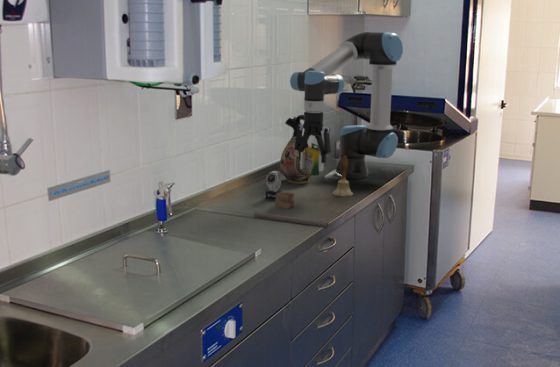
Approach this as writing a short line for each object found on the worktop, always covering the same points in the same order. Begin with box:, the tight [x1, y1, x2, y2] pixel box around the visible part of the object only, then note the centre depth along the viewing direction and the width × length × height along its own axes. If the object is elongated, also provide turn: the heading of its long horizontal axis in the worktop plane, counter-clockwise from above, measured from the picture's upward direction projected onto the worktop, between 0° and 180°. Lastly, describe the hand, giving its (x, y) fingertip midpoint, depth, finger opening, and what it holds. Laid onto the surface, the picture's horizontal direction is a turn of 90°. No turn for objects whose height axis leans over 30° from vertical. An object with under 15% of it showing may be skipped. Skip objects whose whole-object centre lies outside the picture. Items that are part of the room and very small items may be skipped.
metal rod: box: [254, 211, 330, 228], centre depth 232 cm, size 2×27×2 cm, turn 67°
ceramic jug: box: [279, 114, 312, 185], centre depth 286 cm, size 17×15×30 cm
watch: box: [264, 170, 283, 201], centre depth 260 cm, size 6×8×11 cm
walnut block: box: [275, 190, 295, 210], centre depth 251 cm, size 5×5×5 cm
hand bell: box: [332, 156, 354, 197], centre depth 270 cm, size 8×8×16 cm
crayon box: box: [305, 142, 321, 176], centre depth 259 cm, size 7×3×12 cm, turn 24°
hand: (311, 169), depth 260 cm, fingers closed on crayon box, 7 cm apart
